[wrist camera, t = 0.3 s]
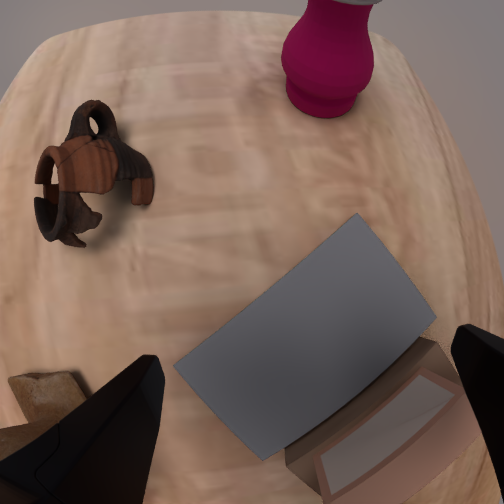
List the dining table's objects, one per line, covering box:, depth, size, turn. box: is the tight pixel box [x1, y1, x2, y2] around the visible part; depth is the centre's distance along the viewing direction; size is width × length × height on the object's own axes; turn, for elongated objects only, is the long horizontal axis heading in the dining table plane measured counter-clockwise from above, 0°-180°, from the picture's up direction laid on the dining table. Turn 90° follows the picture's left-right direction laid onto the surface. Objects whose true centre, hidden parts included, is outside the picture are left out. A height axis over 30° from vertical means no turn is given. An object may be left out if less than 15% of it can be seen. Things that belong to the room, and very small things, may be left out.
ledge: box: [285, 337, 463, 496], centre depth 18 cm, size 8×14×3 cm, turn 130°
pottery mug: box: [34, 100, 153, 248], centre depth 21 cm, size 12×10×8 cm
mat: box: [173, 213, 437, 461], centre depth 21 cm, size 11×18×1 cm, turn 130°
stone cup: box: [0, 371, 86, 461], centre depth 14 cm, size 15×12×15 cm
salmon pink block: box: [313, 367, 482, 504], centre depth 14 cm, size 4×10×6 cm, turn 130°
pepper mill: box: [281, 0, 382, 118], centre depth 14 cm, size 7×7×20 cm
